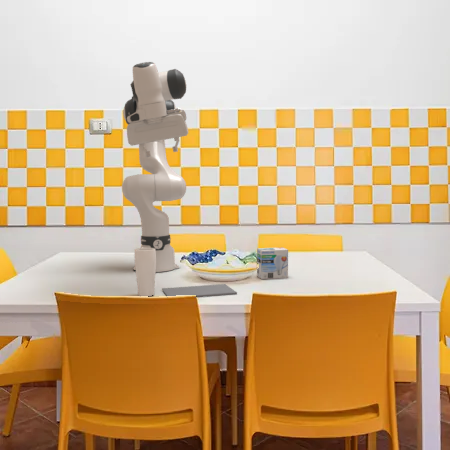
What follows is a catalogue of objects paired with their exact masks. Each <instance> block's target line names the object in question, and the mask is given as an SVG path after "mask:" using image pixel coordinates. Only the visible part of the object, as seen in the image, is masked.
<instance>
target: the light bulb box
mask: <svg viewBox="0 0 450 450" xmlns="http://www.w3.org/2000/svg"><path fill="white" fill-rule="evenodd" d="M257 263H258V264H259V268H258V269H257V268H256V276H257V277H258V278H259V279H261V280H271V279H272V280H273V279H276V280H277V279H288V278H289V249H287V248H285V247H282V246H281V247H264V248H263V247H262V248H261V247H260V248H259V247H257V249H256V264H257Z"/></svg>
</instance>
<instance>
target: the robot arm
mask: <svg viewBox="0 0 450 450" xmlns="http://www.w3.org/2000/svg"><path fill="white" fill-rule="evenodd" d="M132 79H133V80H132V81H131V83H130V88H131V92H132V96H131V99H129V100H127V101H126V102H125V104H124V107H123V111H122V115H123V118H124V120H125V123H126V124H127V126H126V137H127V142H128V144H129V145H130V146H132V147H133V146H138V154H139V155H138V157H139V165H140V166H141V168H142V169H143V170H144V171H146V172H148V174H144V173H143V174H142V173H141V174H133V175H129V176H126V177H125V178H124V180H123V181H122V185H121V192H122V194H123V197H124V198H125V199H126V200H127V201H129V202H130V203H131V204H132V205H133V206H134V207H135V208H136V210H137V212H138V214H139V217H140V224H141V235H140V244H141V246H140V248H155V249H156V272H155V273H160V272H162V273H163V272H169V271H173V270H176V269H179V268H180V265H178V264H176V258H175V257H176V256H175V248H174V247H173V246H172V245H171V239H172V238H171V235H170V219H169V215H168V214H167V213H166V212H165V211H162V210H161V209H158V208H156V207H155V206H154V202H172V201H178V200H181V199H183V198H184V197H185V195H186V192H187V182H186V180H185V179H184V177H183V176H182V175H180V174H178V173H177V172H175V171H174V170H173V168H171V166H170V165H169V162H168V159H167V154H166V153H167V152H166V143H165V142H166V141H165V140H171V139H173V140H174V142H175V145H173V146H172V152H173V153H178V152H179V149H178V145H179V142H180V138H181V137H187V136H188V134H189V128H188V124H187V122H186V120H187V114H186V111H185V110H184V109H181V108H179V107H178V108H177V107H176V104H175V102H174V101H173V100H179V99H180V100H181V99H182V98H183V97H184V96H185V94H186V92H187V81H186V78H185V76H184V73H182V72H181V71H180V70H178V69H177V68H174V69H169V70H165V71H158V68H157V65H156V63H155V62H153V61H145V62H140V63H136V64H134V65H133V66H132ZM149 173H150V174H149ZM133 269H134V270H136V269H135V265H134V266H133V268H132V270H133Z"/></svg>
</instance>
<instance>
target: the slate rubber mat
mask: <svg viewBox="0 0 450 450" xmlns="http://www.w3.org/2000/svg"><path fill="white" fill-rule="evenodd" d="M161 290H163V291H162V293H164V295H165V294H166V295H165V296H166V297H167V296H176V295H196V296H197V297H196V298H202V297H203V296H207V297H218V296H231V295H232V296H233V295H237V294H238V292H237V291H236V290H234V289H233V288H232V287H230V286H229V285H227V284H226V283H221V284H206V285H205V284H204V285H191V286H180V287H179V286H176V287H164V288H161ZM203 298H204V297H203Z"/></svg>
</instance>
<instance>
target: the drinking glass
mask: <svg viewBox="0 0 450 450" xmlns="http://www.w3.org/2000/svg"><path fill="white" fill-rule="evenodd" d="M134 266H135V269H136V271H135V275H136V276H135V277H136V284H137V295H138V296H139V295H140V296H139V297H141V296H149V297H152V295H153V296H154V295H155V290H156V287H155V286H156V285H155V283H156V273H157V272H156V249H155V248H141V247H140V248H135V249H134Z"/></svg>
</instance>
